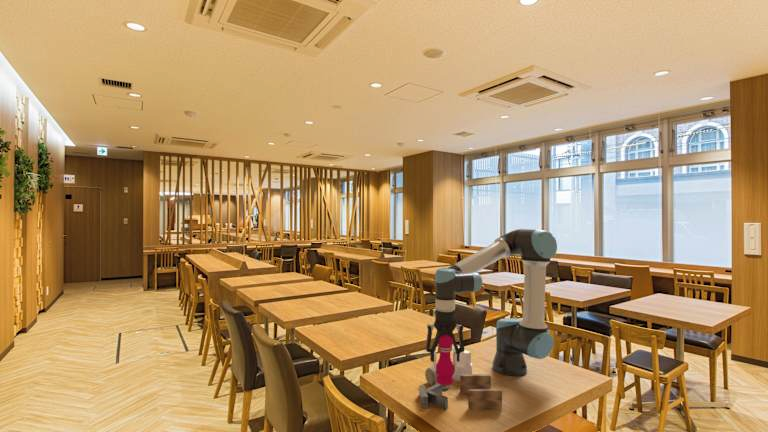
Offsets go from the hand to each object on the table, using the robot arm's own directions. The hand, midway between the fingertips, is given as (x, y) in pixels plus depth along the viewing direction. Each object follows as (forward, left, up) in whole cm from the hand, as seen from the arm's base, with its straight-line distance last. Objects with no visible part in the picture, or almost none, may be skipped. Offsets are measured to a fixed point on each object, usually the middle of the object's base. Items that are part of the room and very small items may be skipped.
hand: (444, 369), depth 151 cm
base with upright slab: (-12, -22, -12) cm, 28 cm away
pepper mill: (0, 0, -5) cm, 5 cm away
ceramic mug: (-1, -15, -12) cm, 19 cm away
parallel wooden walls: (-14, 0, -12) cm, 18 cm away
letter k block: (+4, 0, -12) cm, 12 cm away
